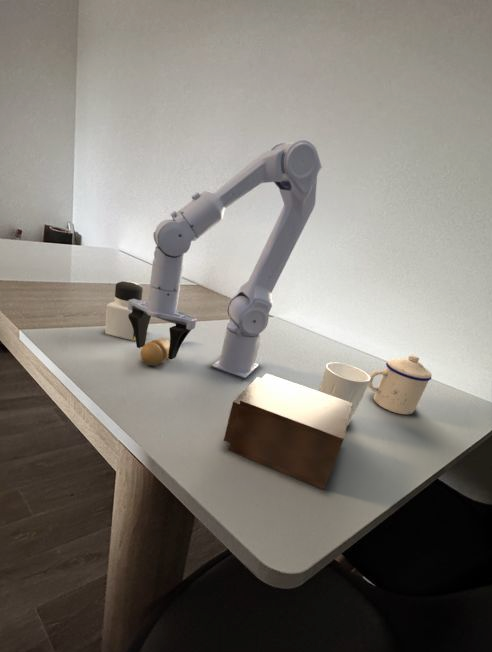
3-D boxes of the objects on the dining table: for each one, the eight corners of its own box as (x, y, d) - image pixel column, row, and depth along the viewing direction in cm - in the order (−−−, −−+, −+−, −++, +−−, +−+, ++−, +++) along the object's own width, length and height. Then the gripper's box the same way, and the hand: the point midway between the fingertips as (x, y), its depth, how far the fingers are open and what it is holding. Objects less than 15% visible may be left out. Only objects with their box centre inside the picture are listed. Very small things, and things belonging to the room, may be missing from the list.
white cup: (351, 416, 77) (370, 370, 72) (351, 435, 70) (371, 386, 65) (312, 404, 78) (327, 358, 74) (307, 421, 71) (324, 372, 67)
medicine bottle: (133, 341, 90) (138, 289, 85) (104, 333, 91) (107, 282, 86) (144, 332, 97) (149, 284, 91) (117, 325, 97) (121, 277, 92)
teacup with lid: (403, 398, 90) (424, 352, 85) (422, 418, 82) (446, 368, 77) (354, 389, 89) (372, 342, 84) (367, 409, 81) (389, 358, 76)
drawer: (216, 437, 59) (225, 398, 56) (241, 408, 69) (250, 374, 66) (310, 476, 55) (325, 436, 52) (323, 439, 65) (336, 404, 62)
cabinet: (228, 450, 59) (240, 400, 55) (254, 416, 69) (266, 373, 66) (323, 490, 54) (343, 439, 51) (335, 447, 65) (353, 403, 61)
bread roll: (155, 353, 86) (157, 333, 84) (174, 360, 85) (177, 340, 83) (134, 363, 79) (137, 341, 77) (155, 371, 78) (158, 349, 76)
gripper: (121, 279, 74) (115, 346, 80) (188, 300, 70) (177, 369, 76) (142, 276, 80) (135, 338, 86) (205, 295, 76) (193, 359, 82)
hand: (156, 352), depth 81 cm, fingers open, 7 cm apart
